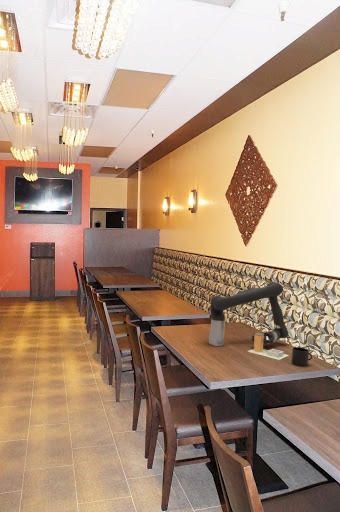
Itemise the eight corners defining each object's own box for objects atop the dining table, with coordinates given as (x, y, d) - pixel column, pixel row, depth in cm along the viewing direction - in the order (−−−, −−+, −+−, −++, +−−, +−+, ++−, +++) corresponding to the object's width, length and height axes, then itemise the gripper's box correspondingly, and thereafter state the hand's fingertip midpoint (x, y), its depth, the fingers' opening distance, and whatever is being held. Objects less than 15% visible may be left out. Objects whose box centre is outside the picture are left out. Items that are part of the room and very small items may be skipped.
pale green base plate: (247, 353, 270) (247, 347, 270) (257, 349, 281) (258, 343, 280) (278, 362, 256) (279, 355, 256) (288, 357, 267) (289, 351, 266)
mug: (314, 367, 250) (315, 352, 250) (294, 366, 250) (295, 351, 249) (308, 361, 260) (309, 347, 259) (289, 361, 259) (290, 346, 259)
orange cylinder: (253, 350, 272) (254, 333, 272) (256, 349, 276) (257, 332, 275) (259, 352, 270) (261, 335, 269) (262, 350, 273) (264, 334, 272)
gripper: (260, 329, 288) (248, 333, 276) (279, 333, 279) (268, 337, 267) (259, 340, 289) (247, 344, 276) (279, 344, 279) (267, 349, 267)
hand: (258, 341), depth 271 cm, fingers open, 8 cm apart
